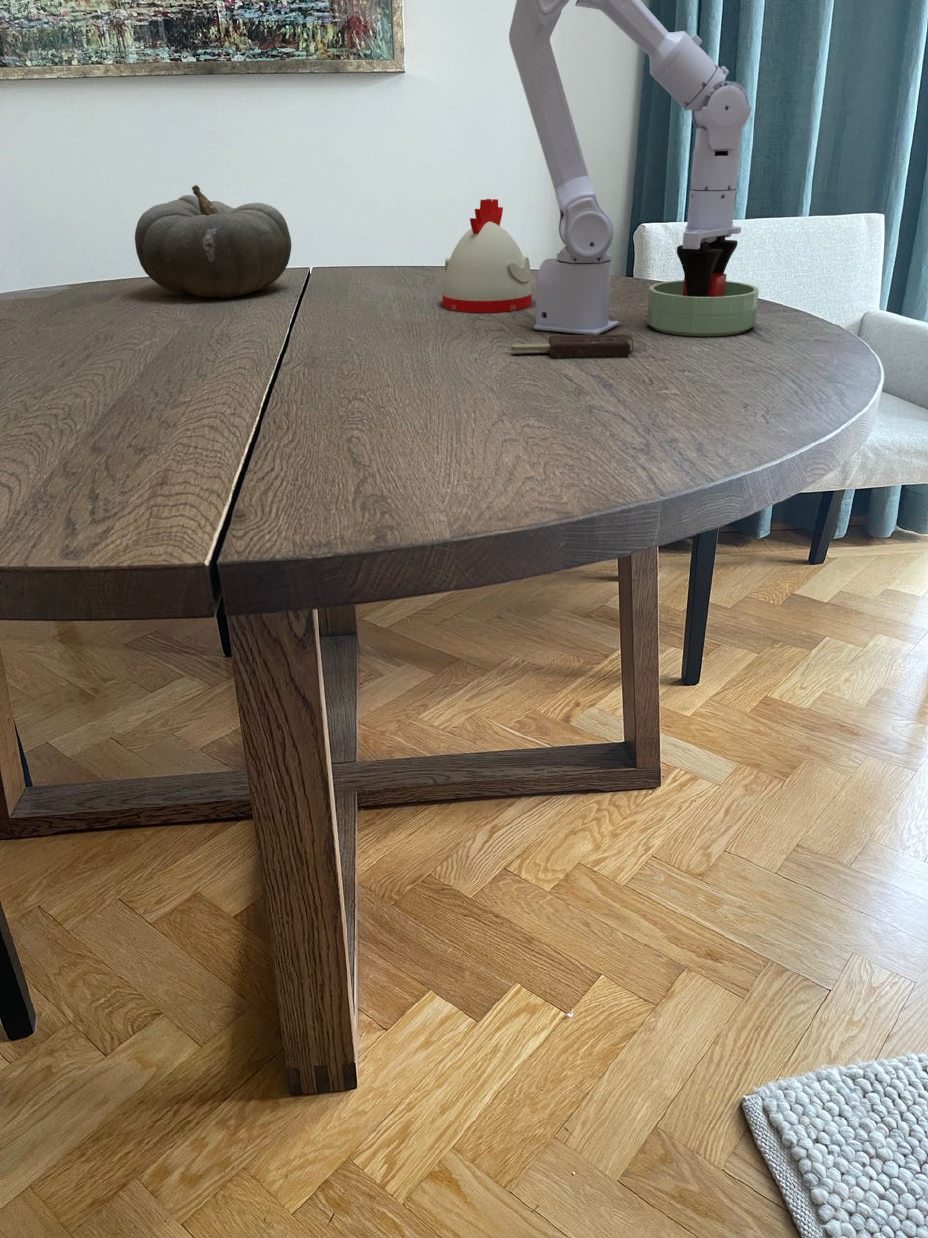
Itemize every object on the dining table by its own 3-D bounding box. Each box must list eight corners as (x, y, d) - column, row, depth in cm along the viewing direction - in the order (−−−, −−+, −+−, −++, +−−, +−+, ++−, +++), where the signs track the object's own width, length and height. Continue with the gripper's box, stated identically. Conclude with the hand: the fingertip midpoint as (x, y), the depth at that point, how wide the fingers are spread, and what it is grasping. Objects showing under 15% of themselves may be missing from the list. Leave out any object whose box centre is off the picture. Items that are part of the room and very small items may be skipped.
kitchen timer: (547, 300, 147) (549, 196, 140) (503, 315, 137) (503, 204, 129) (472, 294, 153) (471, 194, 146) (425, 307, 143) (421, 201, 136)
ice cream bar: (511, 359, 112) (636, 356, 112) (511, 345, 111) (636, 342, 111) (509, 349, 117) (629, 346, 117) (509, 336, 116) (630, 333, 116)
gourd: (177, 264, 173) (172, 162, 163) (307, 287, 172) (310, 187, 162) (116, 302, 153) (106, 189, 143) (262, 329, 151) (263, 217, 141)
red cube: (680, 312, 125) (684, 276, 123) (691, 306, 128) (694, 271, 126) (713, 314, 123) (716, 278, 121) (722, 309, 126) (726, 273, 124)
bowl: (631, 331, 125) (633, 292, 122) (667, 313, 135) (670, 277, 133) (736, 341, 118) (741, 300, 116) (765, 321, 129) (770, 283, 127)
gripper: (727, 194, 111) (715, 311, 118) (759, 185, 122) (747, 293, 129) (670, 193, 115) (661, 307, 121) (707, 185, 126) (697, 290, 132)
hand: (702, 300), depth 125 cm, fingers closed on red cube, 4 cm apart
